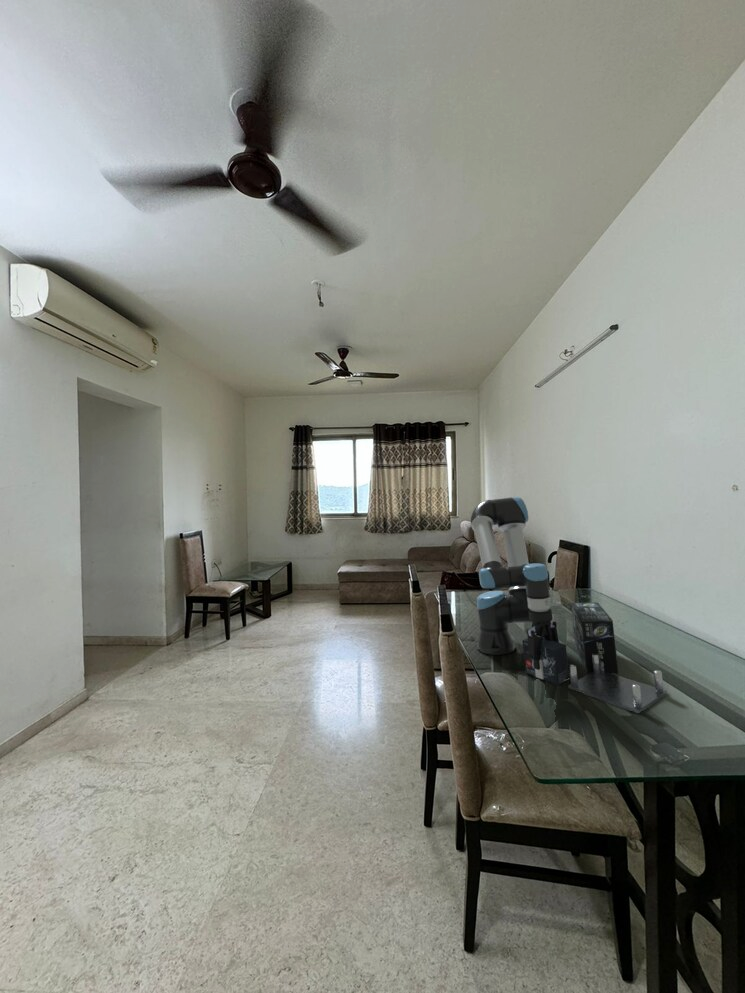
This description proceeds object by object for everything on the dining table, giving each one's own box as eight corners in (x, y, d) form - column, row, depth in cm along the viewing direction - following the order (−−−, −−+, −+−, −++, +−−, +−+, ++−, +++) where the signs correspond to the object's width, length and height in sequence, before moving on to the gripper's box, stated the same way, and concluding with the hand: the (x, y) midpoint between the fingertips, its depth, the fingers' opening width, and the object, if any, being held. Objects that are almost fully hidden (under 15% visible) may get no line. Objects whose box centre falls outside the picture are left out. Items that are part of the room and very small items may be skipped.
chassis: (568, 688, 129) (566, 666, 129) (597, 672, 138) (595, 652, 138) (638, 714, 111) (635, 689, 111) (667, 693, 120) (664, 670, 120)
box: (619, 675, 135) (613, 619, 135) (587, 674, 138) (581, 619, 138) (603, 649, 157) (598, 601, 157) (575, 649, 160) (570, 602, 160)
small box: (524, 673, 142) (521, 639, 143) (537, 667, 146) (533, 634, 146) (557, 685, 131) (554, 649, 131) (570, 679, 135) (566, 644, 135)
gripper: (530, 617, 130) (538, 687, 130) (566, 604, 141) (573, 669, 140) (511, 613, 137) (519, 680, 137) (547, 600, 147) (554, 662, 147)
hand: (546, 674), depth 139 cm, fingers closed on small box, 7 cm apart
